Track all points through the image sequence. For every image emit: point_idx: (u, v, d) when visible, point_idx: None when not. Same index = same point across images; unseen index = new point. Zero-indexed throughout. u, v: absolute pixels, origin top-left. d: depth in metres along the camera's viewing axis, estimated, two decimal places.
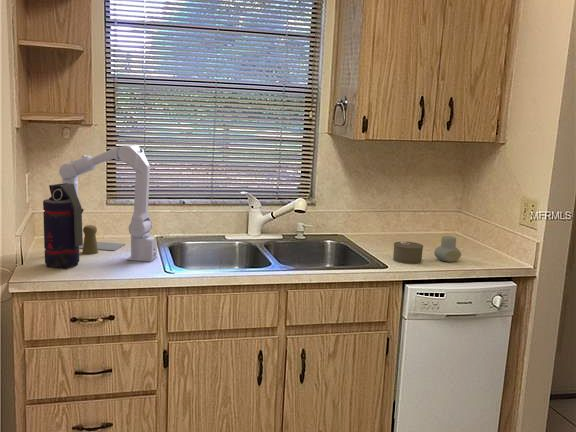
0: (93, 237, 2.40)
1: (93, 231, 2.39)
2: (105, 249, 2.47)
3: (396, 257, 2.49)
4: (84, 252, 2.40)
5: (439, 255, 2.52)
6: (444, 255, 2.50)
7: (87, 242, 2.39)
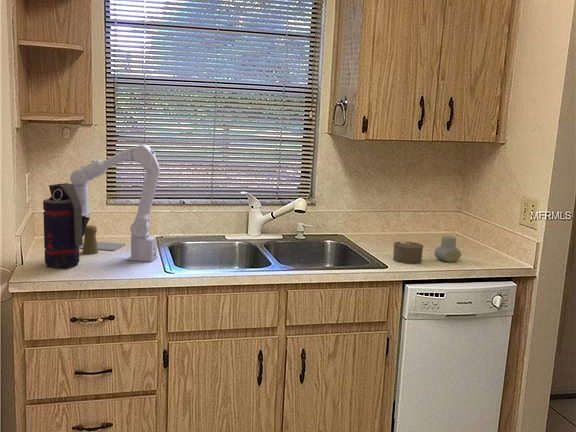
0: (93, 237, 2.40)
1: (93, 231, 2.39)
2: (105, 249, 2.47)
3: (396, 257, 2.49)
4: (84, 252, 2.40)
5: (439, 255, 2.52)
6: (444, 255, 2.50)
7: (87, 242, 2.39)
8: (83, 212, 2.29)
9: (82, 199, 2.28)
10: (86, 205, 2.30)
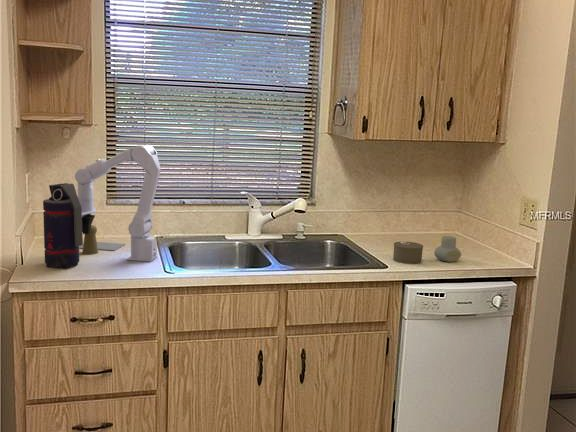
0: (93, 237, 2.40)
1: (93, 231, 2.39)
2: (105, 249, 2.47)
3: (396, 257, 2.49)
4: (84, 252, 2.40)
5: (439, 255, 2.52)
6: (444, 255, 2.50)
7: (87, 242, 2.39)
8: (88, 210, 2.34)
9: (86, 197, 2.32)
10: (91, 203, 2.35)
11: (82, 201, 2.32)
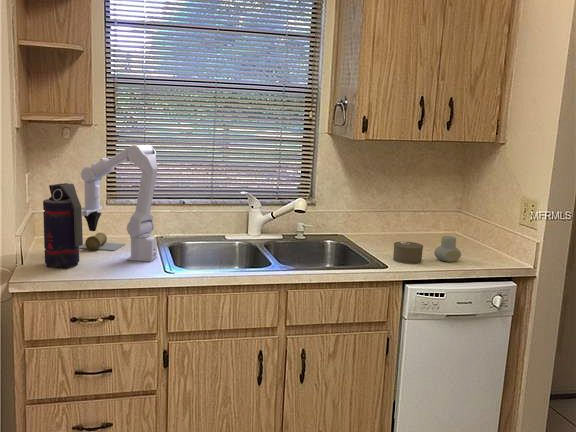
0: (102, 237, 2.51)
1: (104, 235, 2.53)
2: (105, 249, 2.47)
3: (396, 257, 2.49)
4: (89, 237, 2.45)
5: (439, 255, 2.52)
6: (444, 255, 2.50)
7: (95, 235, 2.49)
8: (95, 208, 2.40)
9: (90, 195, 2.38)
10: (98, 201, 2.41)
11: (89, 199, 2.38)
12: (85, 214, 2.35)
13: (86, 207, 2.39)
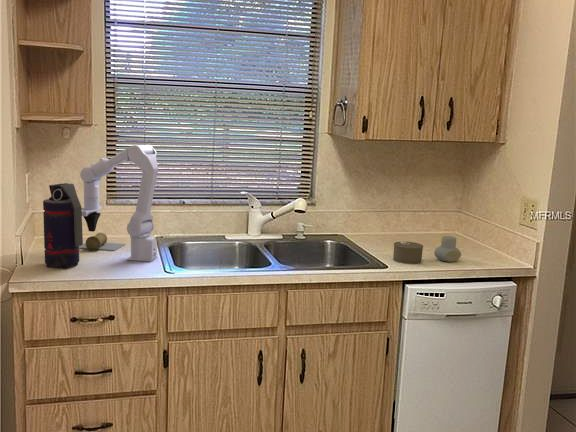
0: (102, 237, 2.51)
1: (105, 235, 2.54)
2: (105, 249, 2.47)
3: (396, 257, 2.49)
4: (89, 237, 2.45)
5: (439, 255, 2.52)
6: (444, 255, 2.50)
7: (95, 235, 2.49)
8: (94, 208, 2.39)
9: (90, 195, 2.38)
10: (97, 201, 2.40)
11: (88, 199, 2.38)
12: (84, 214, 2.34)
13: (85, 207, 2.39)
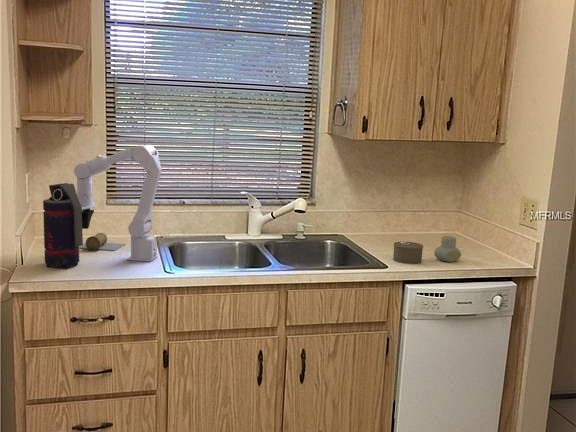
0: (102, 237, 2.51)
1: (105, 235, 2.54)
2: (105, 249, 2.47)
3: (396, 257, 2.49)
4: (89, 237, 2.45)
5: (439, 255, 2.52)
6: (444, 255, 2.50)
7: (95, 235, 2.49)
8: (88, 205, 2.34)
9: (85, 192, 2.32)
10: (91, 198, 2.34)
11: (81, 196, 2.32)
12: None
13: None
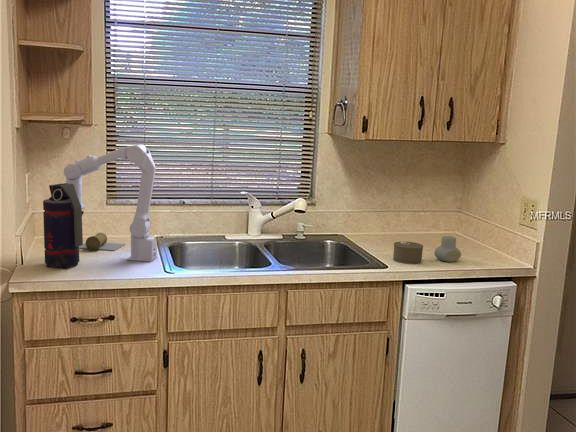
0: (102, 237, 2.51)
1: (105, 235, 2.54)
2: (105, 249, 2.47)
3: (396, 257, 2.49)
4: (89, 237, 2.45)
5: (439, 255, 2.52)
6: (444, 255, 2.50)
7: (95, 235, 2.49)
8: None
9: None
10: (80, 199, 2.31)
11: None
12: None
13: None
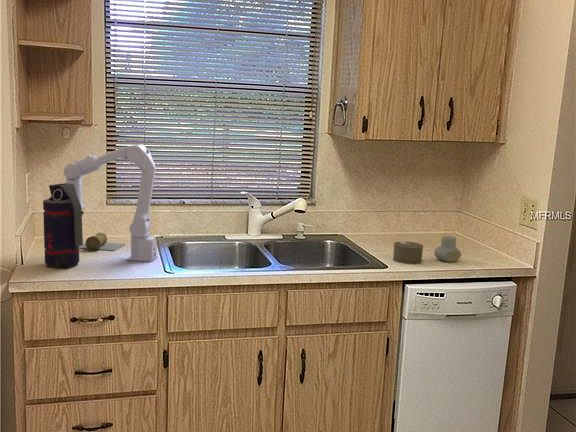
0: (102, 237, 2.51)
1: (105, 235, 2.54)
2: (105, 249, 2.47)
3: (396, 257, 2.49)
4: (89, 237, 2.45)
5: (439, 255, 2.52)
6: (444, 255, 2.50)
7: (95, 235, 2.49)
8: None
9: None
10: (80, 199, 2.31)
11: None
12: None
13: None
